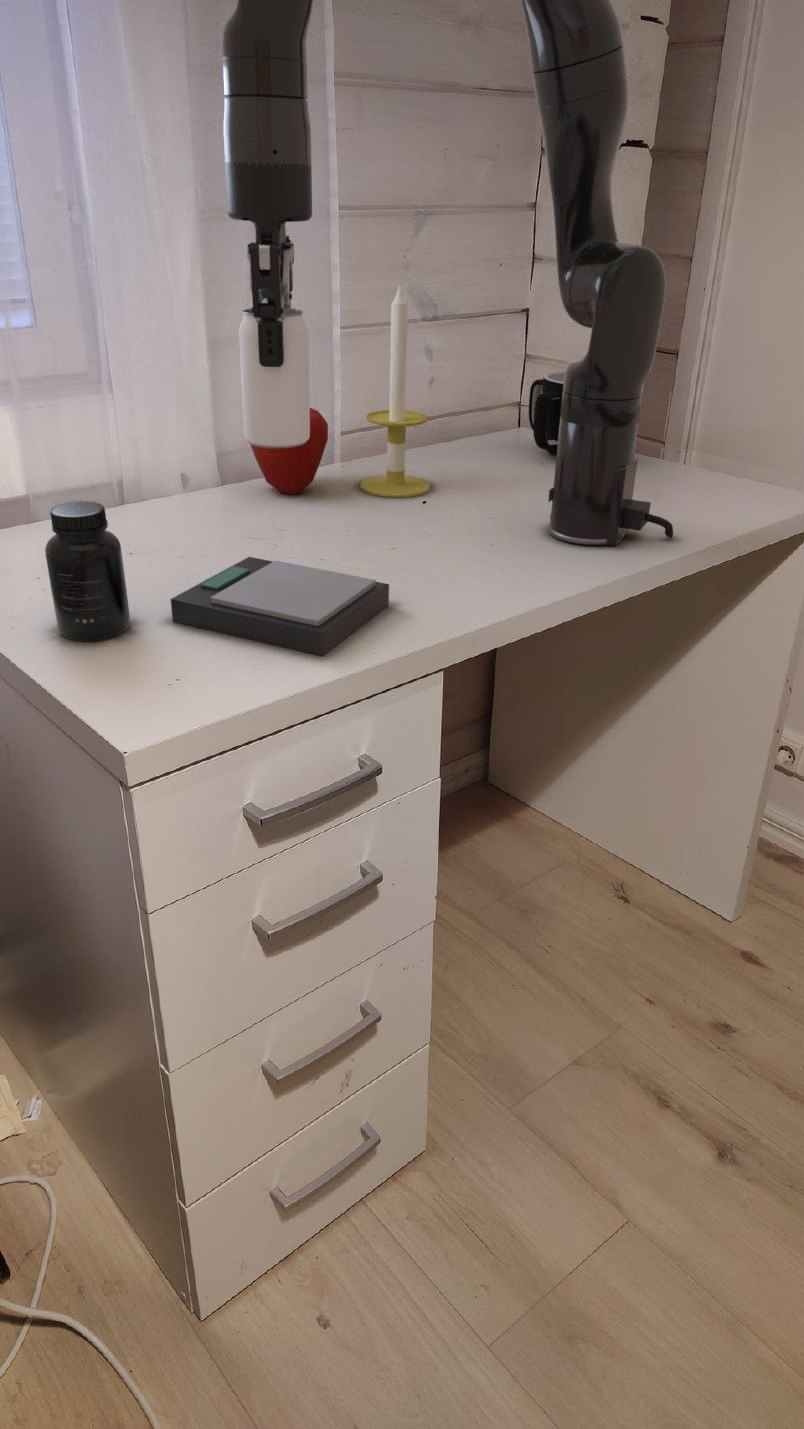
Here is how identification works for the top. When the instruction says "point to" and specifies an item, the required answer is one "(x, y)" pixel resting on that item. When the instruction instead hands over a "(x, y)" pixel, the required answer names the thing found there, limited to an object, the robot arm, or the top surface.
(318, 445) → the apple
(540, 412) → the mug
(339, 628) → the scale
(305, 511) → the top surface
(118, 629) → the supplement bottle
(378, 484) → the candle
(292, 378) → the can
